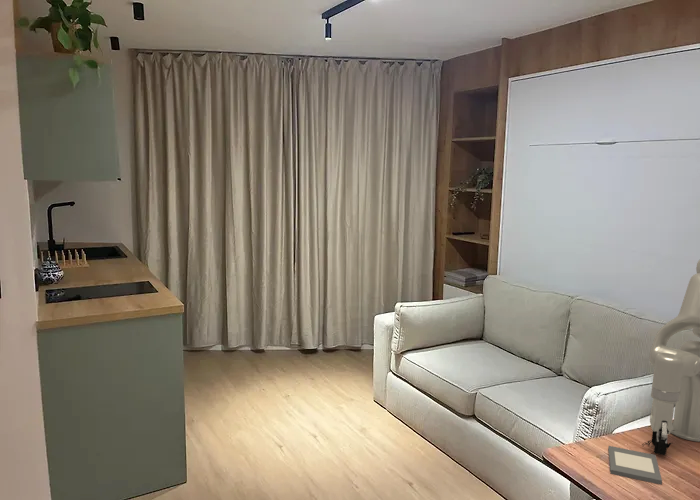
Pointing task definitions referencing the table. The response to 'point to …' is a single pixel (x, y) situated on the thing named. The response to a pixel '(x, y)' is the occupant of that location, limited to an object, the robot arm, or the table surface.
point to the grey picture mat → (634, 465)
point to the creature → (654, 443)
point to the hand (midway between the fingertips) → (658, 448)
